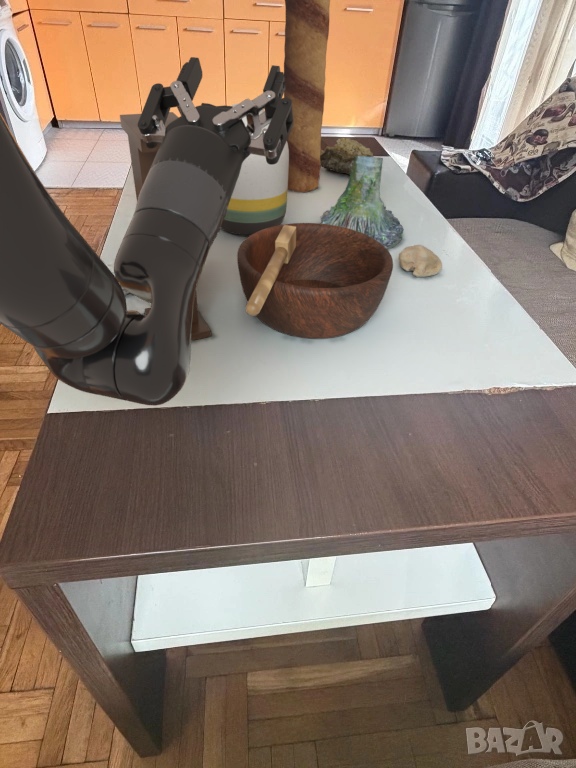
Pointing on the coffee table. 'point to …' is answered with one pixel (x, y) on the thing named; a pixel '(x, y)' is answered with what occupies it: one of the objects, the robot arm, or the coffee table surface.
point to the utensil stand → (141, 167)
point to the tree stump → (365, 205)
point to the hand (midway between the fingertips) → (236, 69)
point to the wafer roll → (305, 87)
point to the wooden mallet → (273, 268)
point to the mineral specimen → (343, 155)
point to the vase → (258, 194)
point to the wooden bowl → (318, 279)
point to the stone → (420, 261)
